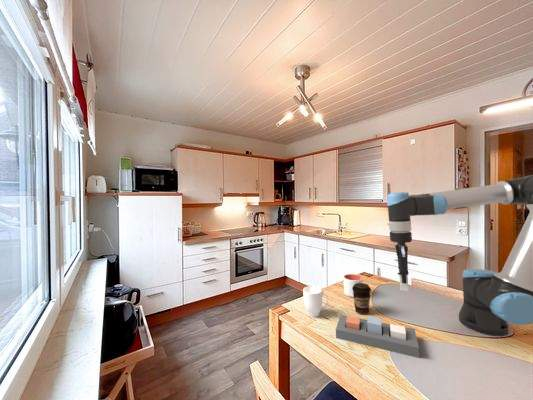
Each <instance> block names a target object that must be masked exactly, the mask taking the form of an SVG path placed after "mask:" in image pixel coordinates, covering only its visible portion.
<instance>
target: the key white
mask: <svg viewBox="0 0 533 400" xmlns="http://www.w3.org/2000/svg"><path fill="white" fill-rule="evenodd" d="M389 324H390V336H391V337H393V338H398V339H403V340H406V331H405V327H406V326H402V325H397V324H393V323H389Z"/></svg>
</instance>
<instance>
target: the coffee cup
mask: <svg viewBox="0 0 533 400" xmlns="http://www.w3.org/2000/svg"><path fill="white" fill-rule="evenodd" d="M352 289H353V295H354V298H353V300H354V303H353V304H354V307H355V312H356V314H359V315H369V314H370V303H371V301H370V300H371V299H370V298H371V296H370V295H371V290H372V289H371V287H370V285H369V284H367V283H363V282H362V283H356V284H354V286H353V288H352Z"/></svg>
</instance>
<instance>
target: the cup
mask: <svg viewBox="0 0 533 400" xmlns="http://www.w3.org/2000/svg"><path fill="white" fill-rule="evenodd" d="M356 283H363V277H362V276H361V275H359V274H353V273H351V274H349V273H348V274H345V275H343V293H344V294H345V295H346V296H347V297H349V298H352V299H354V295H353V289H352V288H353V286H354V284H356Z"/></svg>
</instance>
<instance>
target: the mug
mask: <svg viewBox="0 0 533 400" xmlns="http://www.w3.org/2000/svg"><path fill="white" fill-rule="evenodd" d="M302 292H303V295H302V296H303V304H304V307H305V309H306V312H307V315H308V316H309V317H312V318H317V317H319V315H320V313H321V311H322V310H324V309H325V308H326V307H327V306H328V304H329V298H328V297H329V296H328V294H326V293H325V292H324V291H322V289H321V288H320V287H319V286H316V285H314V286H313V285H312V286H311V285H310V286H305V287H303V289H302ZM323 295H325V296H326V298H327V301H326V303H325V304H324V305H323Z"/></svg>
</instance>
